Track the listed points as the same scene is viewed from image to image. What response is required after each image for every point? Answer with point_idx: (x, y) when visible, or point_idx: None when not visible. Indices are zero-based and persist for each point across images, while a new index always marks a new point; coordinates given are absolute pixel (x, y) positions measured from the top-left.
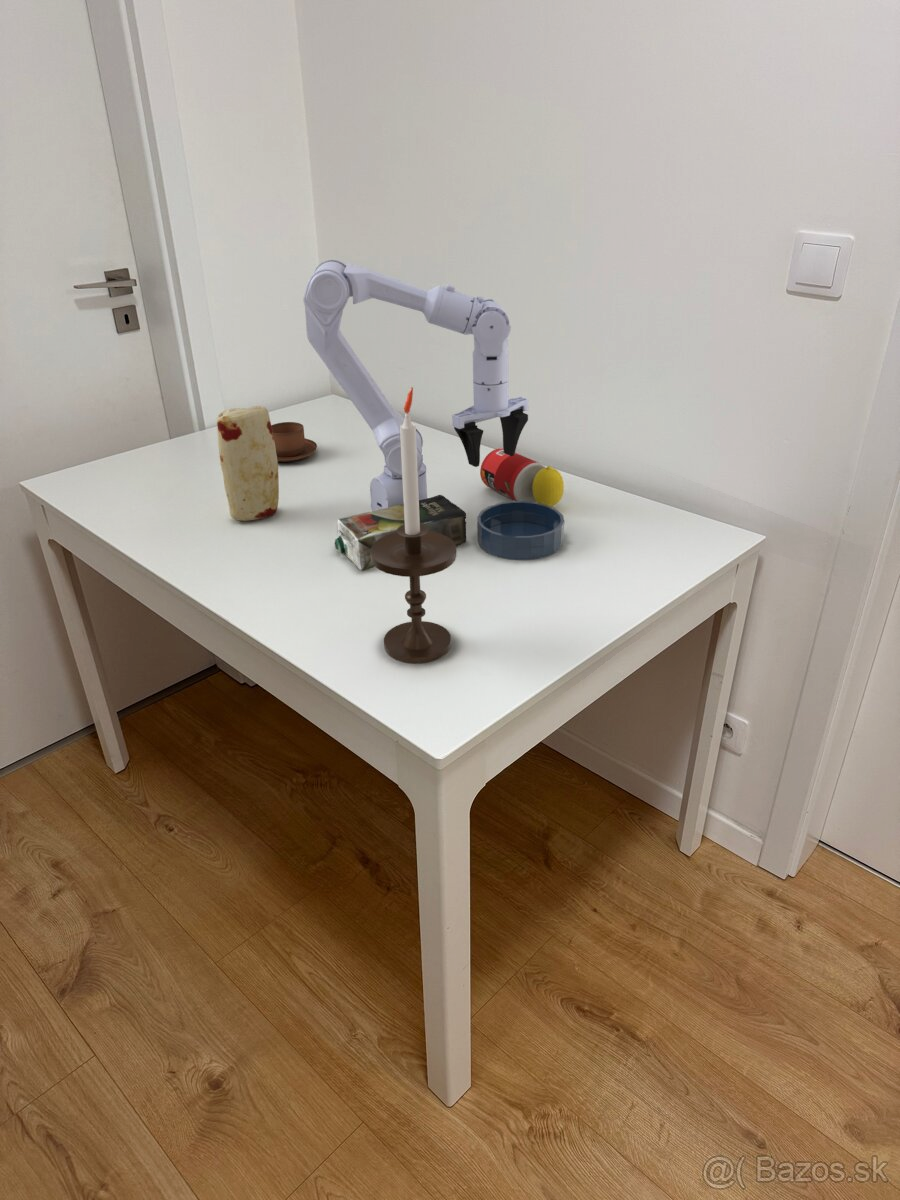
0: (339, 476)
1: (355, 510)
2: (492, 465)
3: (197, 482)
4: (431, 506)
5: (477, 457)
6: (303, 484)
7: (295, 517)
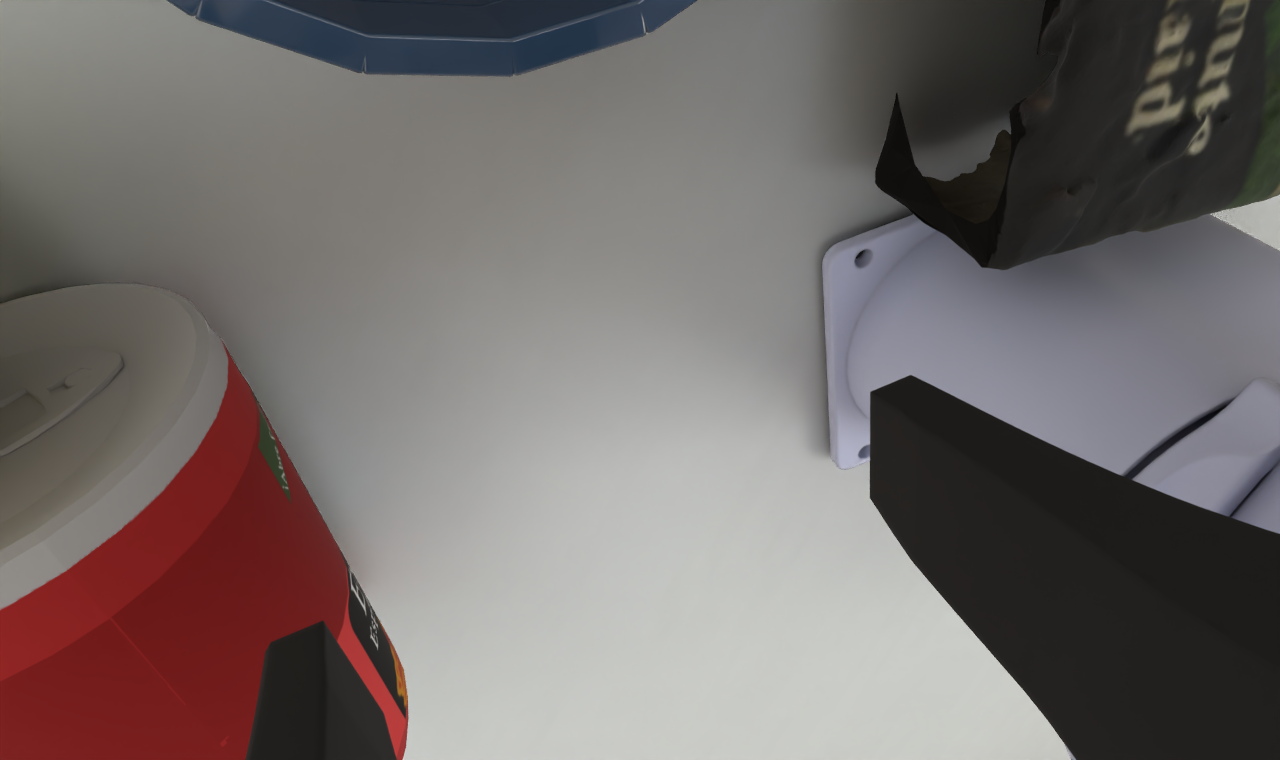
0: (919, 742)
1: None
2: None
3: None
4: (1196, 59)
5: (1009, 437)
6: None
7: None
